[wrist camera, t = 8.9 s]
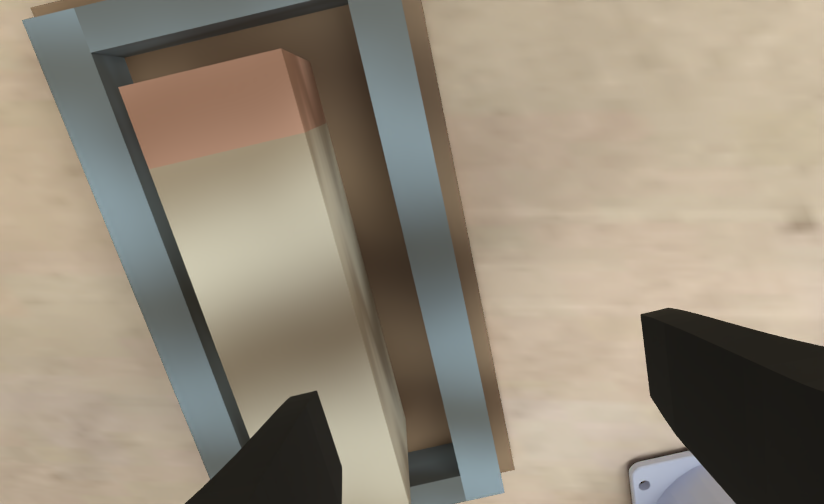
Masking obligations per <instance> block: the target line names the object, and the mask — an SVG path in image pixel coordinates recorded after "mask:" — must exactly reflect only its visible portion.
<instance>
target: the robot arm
mask: <svg viewBox="0 0 824 504" xmlns="http://www.w3.org/2000/svg"><path fill="white" fill-rule="evenodd" d="M641 322H642V331H643V339H644V348H645V356H646V364H647V373H648V381H649V390H650V396H651V398H652V400H653V401H654V403H655V404H656V406H657V407H658V409H659V410H660V412H661V414H662V415H663V417H664V418H665V420H666V421H667V423H668V424H669V426H670V427H671V429H672V430H673V431H674V433H675V434H676V436H677V437H678V438H679V439H680V440H681V441H682V443H683V444H684V445H685V446H686V447H687V448H688V450H689V451H685V452H680V453H676V454H671V455H667V456H662V457H658V458H653V459H649V460H644V461H640V462H637V463H634V464H633V465H632V466H631V467H630V469H629V480H630V488H631V496H632V504H824V347H823V346H818V345H814V344H810V343H805V342H801V341H797V340H792V339H788V338H784V337H780V336H776V335H772V334H768V333H764V332H761V331H757V330H753V329H750V328H746V327H742V326H739V325H735V324H732V323H728V322H724V321H721V320H717V319H714V318H710V317H706V316H703V315H699V314H695V313H691V312H687V311H683V310H678V309H673V308H666V309H662V310H657V311H653V312H649V313H645V314H641ZM642 481H645V482H644V483H642V484H640V483H641V482H642ZM185 504H342V465H341V462H340V459H339V456H338V453H337V450H336V447H335V444H334V441H333V438H332V435H331V432H330V428H329V425H328V422H327V419H326V416H325V413H324V410H323V407H322V404H321V401H320V398H319V395H318V392H317V391H312V392H308V393H304V394H300V395H295V396H291V397H289V398H288V399H287V400H286V401H285V402H284V403H283V404H282V405H281V406H280V407H279V408H278V409H277V410H276V411H275V412H274V413H273V414H272V415H271V417H270V418H269V419H268V420H267V421H266V422H265V423H264V424H263V425H262V427H261V428H260V429H259V430H258V431H257V432H256V433H255V434H254V435H253V436H252V437H251V438H250V440H249V441H248V442H247V443H246V444H245V445H244V446H243V447H242V448H241V449H240V450H239V451H238V453H237V454H236V455H235V456H234V457H233V458H232V459H231V460H230V461H229V462H228V463H227V464H226V465H225V466H224V467H223V468H222V469H221V470H220V471H219V472H218V473H217V474H216V475H215V476H214V477H213V478H212V479H211V480H210V481H209V482H208V483H207V484H206V485H205V486H204V487H203V488H202V489H200V490H199V491H198V492H197V493H196V494H195V495H194V496H193V497H192V498H191V499H190V500H188V501H187V502H186V503H185Z"/></svg>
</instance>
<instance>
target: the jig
mask: <svg viewBox="0 0 824 504" xmlns="http://www.w3.org/2000/svg"><path fill="white" fill-rule="evenodd" d="M31 10H32V12H33V15H34V18H30V19H25V20H22V21H23V24H24V26H25V29H26V31H27V34H28V36H29V38H30V41H31V43H32V46H33V48H34V51H35V53H36V55H37V58H38V60H39V63H40V65H41V68H42V70H43V73H44V75H45V77H46V80H47V82H48V85H49V87H50V90H51V92H52V95H53V97H54V99H55V102H56V104H57V107H58V109H59V112H60V114H61V116H62V119H63V121H64V124H65V126H66V129H67V131H68V134H69V136H70V138H71V141H72V143H73V146H74V148H75V151H76V153H77V155H78V158H79V160H80V163H81V165H82V168H83V170H84V173H85V175H86V177H87V180H88V182H89V185H90V187H91V190H92V192H93V194H94V197H95V199H96V202H97V204H98V207H99V209H100V212H101V214H102V216H103V219H104V221H105V224H106V226H107V229H108V231H109V234H110V236H111V238H112V241H113V243H114V246H115V248H116V251H117V253H118V255H119V258H120V260H121V263H122V265H123V268H124V270H125V273H126V275H127V277H128V280H129V282H130V285H131V287H132V290H133V292H134V294H135V297H136V299H137V302H138V304H139V307H140V309H141V312H142V314H143V316H144V319H145V321H146V324H147V326H148V329H149V331H150V334H151V336H152V338H153V341H154V343H155V346H156V348H157V351H158V353H159V355H160V358H161V360H162V363H163V365H164V368H165V370H166V373H167V375H168V377H169V380H170V382H171V385H172V387H173V390H174V392H175V394H176V397H177V399H178V402H179V404H180V407H181V409H182V412H183V414H184V416H185V419H186V421H187V424H188V426H189V429H190V431H191V434H192V436H193V438H194V441H195V443H196V446H197V448H198V451H199V453H200V455H201V458H202V460H203V463H204V465H205V468H206V470H207V473H208V475H209V477H210V480H211V479H212V478H213V477H214V476H215V475H216V474H217V473H218V472H219V471H220V470H221V469H222V468H223V467H224V466H225V465H226V464H227V463H228V462H229V461H230V460H231V459H232V458H233V457H234V456H235V455H236V454H237V453H238V451H239V450H240V449H241V448H242V447H243V446H244V445H245V444H246V443H247V442H248V441H249V440H250V437H249V435H248V432H247V429H246V427H245V424H244V421H243V419H242V416H241V413H240V411H239V408H238V405H237V403H236V400H235V397H234V395H233V392H232V389H231V387H230V384H229V381H228V379H227V376H226V373H225V371H224V368H223V365H222V363H221V360H220V357H219V355H218V352H217V349H216V347H215V344H214V341H213V339H212V336H211V333H210V331H209V328H208V325H207V323H206V320H205V317H204V315H203V312H202V309H201V307H200V304H199V301H198V299H197V296H196V293H195V291H194V288H193V285H192V283H191V280H190V277H189V275H188V272H187V269H186V267H185V264H184V261H183V259H182V256H181V253H180V251H179V248H178V245H177V243H176V240H175V237H174V235H173V232H172V229H171V227H170V224H169V221H168V219H167V216H166V213H165V211H164V208H163V205H162V203H161V200H160V197H159V195H158V192H157V189H156V187H155V184H154V181H153V179H152V176H151V173H150V171H149V168H148V165H147V163H146V160H145V157H144V155H143V152H142V149H141V147H140V144H139V141H138V139H137V136H136V133H135V131H134V128H133V125H132V123H131V120H130V117H129V115H128V112H127V110H126V107H125V104H124V102H123V99H122V96H121V94H120V91H119V88H118V87H121V86H126V85H130V84H134V83H138V82H142V81H147V80H151V79H155V78H159V77H163V76H167V75H172V74H176V73H180V72H184V71H188V70H192V69H197V68H201V67H205V66H209V65H213V64H218V63H222V62H226V61H230V60H234V59H238V58H243V57H247V56H251V55H255V54H259V53H263V52H268V51H272V50H276V49H280V48H281V49H284V50H286V51H288V52H290V53H292V54H294V55H296V56H298V57H301V58H303V59H305V60H307V61H309V62H310V63H311V67H312V71H313V75H314V78H315V82H316V86H317V90H318V93H319V97H320V101H321V105H322V108H323V112H324V116H325V119H326V123H327V127H328V131H329V134H330V138H331V142H332V146H333V149H334V153H335V157H336V161H337V164H338V168H339V172H340V176H341V179H342V183H343V187H344V191H345V194H346V198H347V202H348V206H349V209H350V213H351V217H352V220H353V224H354V228H355V232H356V235H357V239H358V243H359V247H360V250H361V254H362V258H363V262H364V265H365V269H366V273H367V277H368V280H369V284H370V288H371V292H372V295H373V299H374V303H375V306H376V310H377V314H378V318H379V321H380V325H381V329H382V333H383V336H384V340H385V344H386V348H387V351H388V355H389V359H390V363H391V366H392V370H393V374H394V378H395V381H396V385H397V389H398V393H399V396H400V400H401V404H402V407H403V411H404V415H405V419H406V433H407V449H408V465H409V481H410V497H411V504H456V503H460V502H465V501H469V500H474V499H478V498H483V497H487V496H492V495H496V494H501V493H504V488H503V483H502V478H501V474H500V473H502V472H506V471H511V470H515V469H514V464H513V459H512V454H511V449H510V444H509V439H508V434H507V429H506V424H505V419H504V414H503V409H502V404H501V399H500V394H499V389H498V384H497V379H496V374H495V369H494V364H493V359H492V354H491V349H490V344H489V339H488V334H487V329H486V324H485V319H484V314H483V309H482V304H481V299H480V294H479V289H478V284H477V279H476V274H475V269H474V264H473V258H472V253H471V248H470V243H469V238H468V233H467V228H466V223H465V218H464V213H463V208H462V203H461V198H460V193H459V188H458V183H457V178H456V173H455V168H454V163H453V158H452V153H451V148H450V143H449V138H448V133H447V128H446V123H445V118H444V113H443V108H442V103H441V98H440V93H439V88H438V83H437V78H436V73H435V68H434V63H433V58H432V53H431V48H430V43H429V38H428V33H427V27H426V22H425V17H424V12H423V7H422V2H421V0H61V1H57V2H52V3H48V4H44V5H40V6H36V7H32V8H31Z"/></svg>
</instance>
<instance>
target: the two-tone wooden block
mask: <svg viewBox="0 0 824 504" xmlns="http://www.w3.org/2000/svg"><path fill="white" fill-rule="evenodd" d="M118 88H119V91H120V94H121V96H122V99H123V102H124V104H125V107H126V110H127V112H128V115H129V117H130V120H131V123H132V125H133V128H134V131H135V133H136V136H137V139H138V141H139V144H140V147H141V149H142V152H143V155H144V157H145V160H146V163H147V165H148V168H149V171H150V173H151V176H152V179H153V181H154V184H155V187H156V189H157V192H158V195H159V197H160V200H161V203H162V205H163V208H164V211H165V213H166V216H167V219H168V221H169V224H170V227H171V229H172V232H173V235H174V237H175V240H176V243H177V245H178V248H179V251H180V253H181V256H182V259H183V261H184V264H185V267H186V269H187V272H188V275H189V277H190V280H191V283H192V285H193V288H194V291H195V293H196V296H197V299H198V301H199V304H200V307H201V309H202V312H203V315H204V317H205V320H206V323H207V325H208V328H209V331H210V333H211V336H212V339H213V341H214V344H215V347H216V349H217V352H218V355H219V357H220V360H221V363H222V365H223V368H224V371H225V373H226V376H227V379H228V381H229V384H230V387H231V389H232V392H233V395H234V397H235V400H236V403H237V405H238V408H239V411H240V413H241V416H242V419H243V421H244V424H245V427H246V429H247V432H248V435H249V437H250V438H251V437H252V436H253V435H254V434H255V433H256V432H257V431H258V430H259V429H260V428H261V427H262V425H263V424H264V423H265V422H266V421H267V420H268V419H269V418H270V417H271V415H272V414H273V413H274V412H275V411H276V410H277V409H278V408H279V407H280V406H281V405H282V404H283V403H284V402H285V401H286V400H287V399H288V398H289V397H291V396H295V395H300V394H304V393H308V392H312V391H317V392H318V395H319V398H320V401H321V404H322V407H323V410H324V413H325V416H326V419H327V422H328V425H329V428H330V432H331V435H332V438H333V441H334V444H335V447H336V450H337V453H338V456H339V459H340V462H341V465H342V504H411V497H410V481H409V465H408V449H407V433H406V419H405V415H404V411H403V407H402V404H401V400H400V396H399V393H398V389H397V385H396V381H395V378H394V374H393V370H392V366H391V363H390V359H389V355H388V351H387V348H386V344H385V340H384V336H383V333H382V329H381V325H380V321H379V318H378V314H377V310H376V306H375V303H374V299H373V295H372V292H371V288H370V284H369V280H368V277H367V273H366V269H365V265H364V262H363V258H362V254H361V250H360V247H359V243H358V239H357V235H356V232H355V228H354V224H353V220H352V217H351V213H350V209H349V206H348V202H347V198H346V194H345V191H344V187H343V183H342V179H341V176H340V172H339V168H338V164H337V161H336V157H335V153H334V149H333V146H332V142H331V138H330V134H329V131H328V127H327V123H326V119H325V116H324V112H323V108H322V105H321V101H320V97H319V93H318V90H317V86H316V82H315V78H314V75H313V71H312V67H311V63H310V62H309V61H307V60H305V59H303V58H301V57H298V56H296V55H294V54H292V53H290V52H288V51H286V50H284V49H281V48H280V49H276V50H272V51H268V52H263V53H259V54H255V55H251V56H247V57H243V58H238V59H234V60H230V61H226V62H222V63H218V64H213V65H209V66H205V67H201V68H197V69H192V70H188V71H184V72H180V73H176V74H172V75H167V76H163V77H159V78H155V79H151V80H147V81H142V82H138V83H134V84H130V85H126V86H121V87H118Z"/></svg>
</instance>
